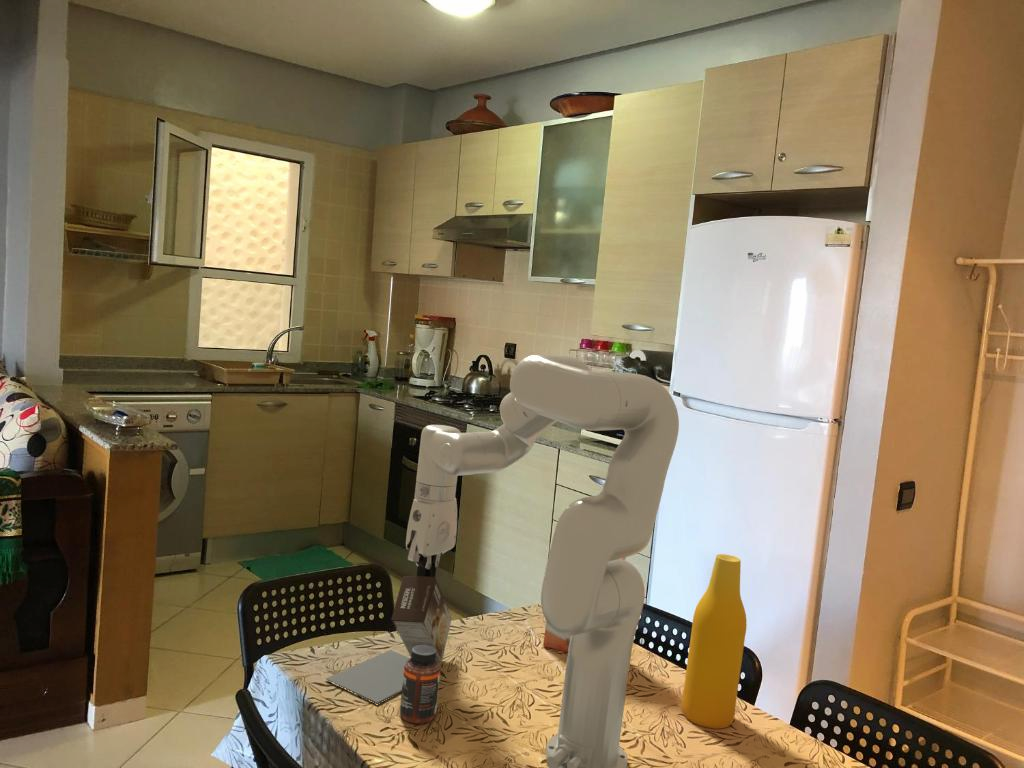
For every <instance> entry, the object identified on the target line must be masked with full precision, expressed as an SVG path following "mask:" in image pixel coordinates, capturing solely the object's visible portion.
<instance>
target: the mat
mask: <svg viewBox="0 0 1024 768" xmlns="http://www.w3.org/2000/svg"><path fill="white" fill-rule="evenodd" d="M410 658H411V657H409V656H406V655H404V654H401V653H400V652H399V653H398V652H396V651H394V650H392V649H389V650H386V651H384V652H382V653H379V654H378V655H376V656H373V657H370V658H368V659H366V660H365V661H361V662H359V663H357V664H355V665H354V666H351V667H349V668H346V669H344V670H342V671H339V672H338V673H335V674H332V675H330V676H328V677H326V678H325V680H326V679H327V680H329V681H331V682H334V683H335V684H338V685H339V686H341V687H343V688H346V689H348V690H349V691H352V692H353V693H356V694H358V695H360V696H361V697H363V698H365V699H367V700H370V701H372V702H374V703H376V704H379V703H381V702H382V701H384V700H386V699H388V698H390V697H392V696H394V695H396V694H398V693H400V692H402V685H403V674H404V666H405V663H406V661H407V660H409V659H410ZM400 694H401V693H400ZM398 695H399V694H398ZM396 696H397V695H396ZM394 697H395V696H394ZM363 698H362V699H363ZM392 698H393V697H392ZM365 699H364V700H365ZM390 699H391V698H390ZM367 700H366V701H367ZM388 700H389V699H388ZM386 701H387V700H386ZM381 704H382V703H381ZM379 705H380V704H379Z"/></svg>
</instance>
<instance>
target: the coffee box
mask: <svg viewBox="0 0 1024 768" xmlns="http://www.w3.org/2000/svg"><path fill="white" fill-rule="evenodd" d="M401 579H402V580H401V583H400V586H399V587H400V588H399V590H398V594H397V598H396V601H395V605H394V608H393V612H392V616H391V621H392V623H393V625H394V626H395V629H396V631H397V633H398V635H399V637H400V639H401V640H402V643H403V644H404V645H403V646H405V649H406V651H407V653H408V655H409V656H410V657H411V653H412V648H413V647H415V646H418V645H428V646H432V647H433V648H435V649H436V658H435V659H436V661H438V662H442V661H443V659H444V655H445V651H446V646H447V640H448V637H449V632H450V628H451V623H452V620H453V619H452V616H451V613H450V611H449V609H448V606H447V603H446V600H445V599H444V596H443V594H442V593H443V592H442V591H441V587H440V586H439V583H438V581H437V577H436V576H435V577H424V576H417V575H414V576H410V575H409V576H408V575H402V578H401Z"/></svg>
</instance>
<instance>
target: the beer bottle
mask: <svg viewBox="0 0 1024 768" xmlns="http://www.w3.org/2000/svg"><path fill="white" fill-rule="evenodd" d="M741 568H742V567H741V558H739V557H736V556H734V555H730V554H724V553H723V554H722V553H721V554H716V555H715V560H714V563H713V568H712V571H711V576H710V579H709V583H708V585H707V589H706V591H705V592H704V594H702V597H701V598H700V599H699V600H698V603H697V604H696V606H695V609H694V613H693V618H692V625H691V634H690V638H689V639H690V641H689V647H688V655H687V664H686V670H685V679H684V686H683V692H682V696H681V697H682V698H681V706H680V707H681V712H682V714H683V716H684V717H685V718H686V719H688V720H689V721H690V722H692V723H694V724H695V725H698V726H701V727H705V728H709V729H714V730H715V729H716V730H717V729H724V728H728V727H729V726H731V724H733V722H734V719H735V715H736V705H737V697H738V691H739V683H740V676H741V667H742V662H743V654H744V646H745V639H746V633H747V614H746V610H745V607H744V604H743V601H742V597H741Z"/></svg>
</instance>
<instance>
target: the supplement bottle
mask: <svg viewBox="0 0 1024 768" xmlns="http://www.w3.org/2000/svg"><path fill="white" fill-rule="evenodd" d="M409 658H410V659H409V660H407V661H406V663H405V666H404V674H403V685H402V693H401V696H400V697H401V698H400V705H399V706H400V707H399V715H400V717H401V718H402V719H403V720H404V721H406V722H408V723H411V724H418V725H420V724H421V725H422V724H425V723H426V724H427V723H430V722H431V721H433V720H434V719H435V717H436V715H437V709H438V708H437V707H438V699H439V697H438V696H439V687H440V676H441V665H440V663H439V661H436V659H435V658H436V649H435V648H433V647H432V646H428V645H418V646H415V647H413V648H412V653H411V656H410V657H409Z"/></svg>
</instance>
